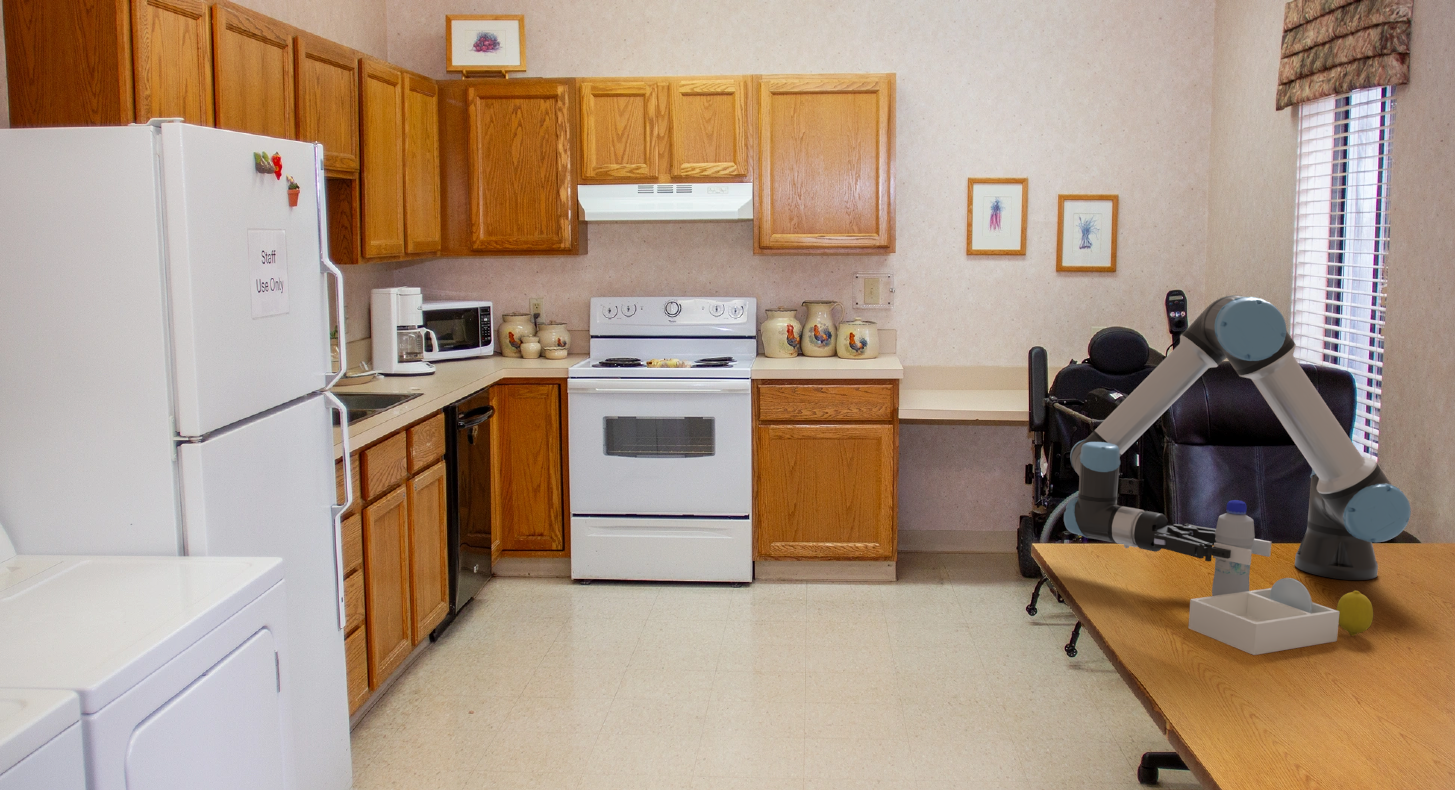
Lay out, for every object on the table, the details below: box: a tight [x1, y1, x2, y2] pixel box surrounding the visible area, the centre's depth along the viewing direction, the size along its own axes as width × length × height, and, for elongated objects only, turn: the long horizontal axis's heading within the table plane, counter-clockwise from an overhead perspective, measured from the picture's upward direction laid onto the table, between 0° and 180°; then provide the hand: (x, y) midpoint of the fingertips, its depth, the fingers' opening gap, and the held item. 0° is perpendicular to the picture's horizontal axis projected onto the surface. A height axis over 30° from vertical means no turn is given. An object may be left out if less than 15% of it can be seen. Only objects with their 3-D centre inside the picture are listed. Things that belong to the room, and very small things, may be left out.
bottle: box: [1211, 499, 1256, 596], centre depth 207 cm, size 7×7×20 cm
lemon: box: [1335, 590, 1374, 637], centre depth 192 cm, size 6×6×8 cm
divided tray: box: [1188, 577, 1340, 656], centre depth 192 cm, size 19×14×9 cm
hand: (1260, 553), depth 203 cm, fingers open, 8 cm apart
